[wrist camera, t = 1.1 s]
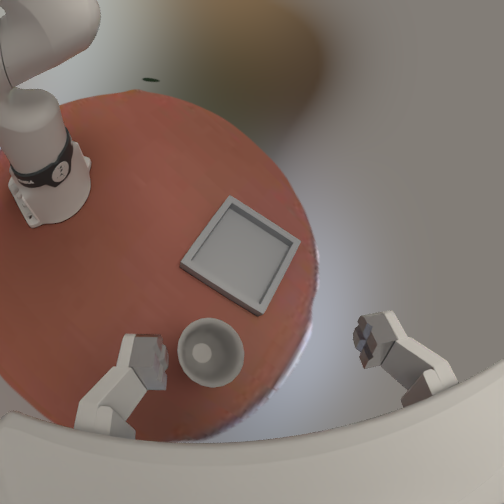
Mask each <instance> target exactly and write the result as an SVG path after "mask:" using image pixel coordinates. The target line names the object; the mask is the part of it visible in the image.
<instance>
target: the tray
mask: <svg viewBox="0 0 504 504" xmlns="http://www.w3.org/2000/svg"><path fill="white" fill-rule="evenodd" d="M300 242H301V241H300V240H298V239H297V238H295V237H294V236H292V235H291V234H289V233H288V232H286V231H285V230H283V229H282V228H280V227H279V226H277V225H276V224H274V223H273V222H271V221H270V220H268V219H266V218H265V217H263V216H262V215H260V214H259V213H257V212H256V211H254V210H253V209H251V208H249V207H248V206H246V205H245V204H243V203H242V202H240V201H238V200H237V199H235V198H234V197H232V196H230V195H229V197H228V198H227V199H226V201H225V202H224V203H223V205H222V206H221V207H220V209H219V210H218V211H217V212H216V214H215V215H214V216H213V218H212V219H211V221H210V222H209V223H208V225H207V226H206V227H205V229H204V230H203V231H202V233H201V234H200V235H199V237H198V238H197V240H196V241H195V242H194V244H193V245H192V246H191V248H190V249H189V251H188V252H187V253H186V255H185V256H184V258H183V259H182V260H181V263H180V268H182V269H183V270H185V271H186V272H188V273H189V274H191V275H192V276H194V277H195V278H197V279H198V280H200V281H202V282H203V283H205V284H206V285H208V286H209V287H211V288H212V289H214V290H216V291H217V292H219V293H220V294H222V295H223V296H225V297H227V298H228V299H230V300H231V301H233V302H235V303H236V304H238V305H240V306H241V307H243V308H244V309H246V310H248V311H249V312H251V313H253V314H254V315H256V316H260V315H263V314H264V312H265V310H266V308H267V306H268V304H269V303H270V301H271V299H272V297H273V295H274V293H275V291H276V289H277V287H278V286H279V284H280V282H281V280H282V278H283V276H284V274H285V272H286V270H287V268H288V266H289V264H290V262H291V260H292V258H293V256H294V254H295V252H296V250H297V248H298V246H299V244H300Z"/></svg>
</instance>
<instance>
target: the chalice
mask: <svg viewBox="0 0 504 504" xmlns="http://www.w3.org/2000/svg"><path fill="white" fill-rule="evenodd" d="M177 352H178V358H179V362H180V364H181V366H182V368H183V370H184V372H185V373H186V374H187V375H188V376H189V378H190V379H191V380H193V381H195V382H196V383H198V384H200V385H202V386H207V387H219V386H224V385H226V384H228V383H229V382H231V381H233V380H234V378H235V377H236V376H237V375H238V374H239V373H240V370H241V368H242V366H243V361H244V349H243V344H242V341H241V339H240V337H239V335H238V334H237V332H236V331H235V330H234V329H233V328H232V327H231V326H230V325H228V324H227V323H225V322H223V321H222V320H218V319H214V318H203V319H199V320H197V321H195V322H192V323H191V324H190V325H189V326H188V327H187V328H186V329H185V330H184V331H183V333H182V335H181V337H180V339H179V342H178V350H177Z"/></svg>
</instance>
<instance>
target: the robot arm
mask: <svg viewBox="0 0 504 504" xmlns="http://www.w3.org/2000/svg"><path fill="white" fill-rule="evenodd" d="M0 7H2V8H3V9H4V10H5V12H6V14H5V15H4V16H2V18H0V147H1V149H2V150H3V152H4V153H5V155H6V156H7V158H8V160H9V161H10V165H11V166H10V169H9V172H10V174H11V176H12V177H11V178H10V181H9V184H8V186H9V189H10V191H11V193H12V195H13V197H14V199H15V201H16V203H17V205H18V207H19V208H20V210H21V212H22V214H23V216H24V218H25V219H26V221H27V223H28V225H29V226H30V227H31V228H35V227H38V226H40V225H42V224H47V223H58V222H62V221H64V220H66V219H68V218H70V217H71V216H73V215H74V214H75V213H76V212H77V211H78V210H79V209H80V208H81V207H82V206H83V204H84V203H85V201H86V199H87V197H88V195H89V192H90V187H91V181H90V176H89V171H90V168H91V160H90V159H89V158H88V157H85V156H83V154H82V152H81V149H80V147H79V144H78V143H77V142H74V141H72V138H71V135H70V134H69V132H68V129H67V128H66V127H65V126H64V122H63V119H62V115H61V111H60V107H59V103H58V101H57V99H56V98H55V97H54V96H53V95H52V94H51V93H49V92H47V91H45V90H41V89H20V88H17V87H15V86H17V85H19V84H21V83H23V82H25V81H27V80H29V79H30V78H32V77H34V76H37V75H39V74H41V73H43V72H45V71H47V70H49V69H51V68H54V67H56V66H58V65H60V64H61V63H63V62H65V61H67V60H68V59H70V58H72V57H74V56H75V55H77V54H79V53H80V52H82V51H84V50H86V49H87V48H88V47H89V46H90V45H91V43H92V42H93V40H94V38H95V36H96V34H97V32H98V29H99V26H100V20H101V12H100V7H99V4H98V2H97V0H0ZM30 217H32V218H31V219H30ZM358 323H359V325H358V326H357V327H356V328H355V330H354V333H353V340H354V344H355V347H356V349H357V350H358V351H360V352H361V353H360V356H359V357H360V360H361V362H362V365H363V367H364V369H367V368H371V367H376V366H380V365H381V367H382V368H383V369H384V370H385V371H386V372H388V373H389V374H390V375H391V376H392V377H393V378H394V379H395V380H397V381H398V382H399V383H400V384H401V385H402V386H403V387H405V388H406V389H407V390H408V391H407V392H406V393H405V395H404V396H403V397H402V398H401V402H402V405H403V408H401V409H398V410H395V411H392V412H389V413H386V414H383V415H380V416H377V417H374V418H370V419H367V420H364V421H360V422H357V423H353V424H349V425H345V426H341V427H337V428H332V429H328V430H323V431H318V432H313V433H308V434H302V435H296V436H290V437H283V438H275V439H268V440H258V441H246V442H230V443H172V442H156V441H145V440H136V439H135V432H136V431H135V430H134V428H132V427H131V426H130V425H129V424H128V423H127V422H126V420H127V418H128V417H129V416H130V414H131V413H132V411H133V410H134V409H135V407H136V406H137V404H138V403H139V402H140V400H141V399H142V397H143V396H144V395H145V393H146V392H147V390H166V384H167V375H166V373H165V370H166V369H167V368H168V363H169V359H168V351H167V348H166V346H165V345H163V344H162V343H163V338H162V336H161V334H125V335H124V337H123V340H122V344H121V348H120V352H119V356H118V360H117V365H116V367H112V368H111V369H110V370H109V371H108V372H107V373H106V374H105V375H104V376H103V377H102V378H101V379H100V380H99V382H98V383H97V384H96V385H95V386H94V387H93V388H92V389H91V390H90V391H89V392H88V393H87V394H86V395H85V396H84V397H83V398H82V399H81V400H80V402H79V406H78V410H77V415H76V420H75V425H74V429H73V428H69V427H65V426H61V425H58V424H54V423H51V422H47V421H44V420H41V419H37V418H34V417H31V416H28V415H26V414H23V413H20V412H17V411H10V412H8V413H6V414H5V415H4V416H3V417H2V418H1V419H0V504H504V359H502V360H500V361H498V362H497V363H495V364H493V365H492V366H490V367H488V368H487V369H485V370H483V371H481V372H480V373H478V374H476V375H474V376H472V377H471V378H469V379H467V380H465V381H463V382H461V383H459V382H458V380H457V378H456V377H455V375H454V373H453V371H452V369H451V367H450V365H449V363H448V362H447V361H446V360H445V359H443V358H442V357H440V356H439V355H437V354H436V353H434V352H432V351H431V350H429V349H428V348H426V347H425V346H423V345H422V344H420V343H419V342H417V341H416V340H414V339H413V338H411V337H409V338H408V337H407V335H406V333H405V331H404V330H403V328H402V326H401V324H400V323H399V321H398V319H397V317H396V316H395V314H394V312H393V311H391V310H390V311H385V312H378V313H373V314H368V315H363V316H360V318H359V319H358Z"/></svg>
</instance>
